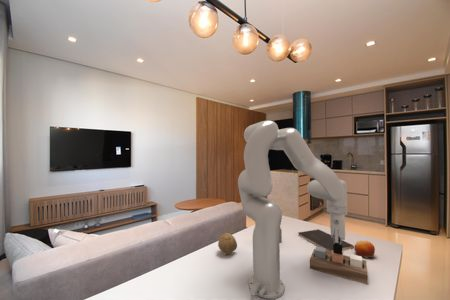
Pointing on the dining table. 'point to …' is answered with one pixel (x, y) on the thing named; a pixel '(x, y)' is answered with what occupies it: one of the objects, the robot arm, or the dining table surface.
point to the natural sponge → (227, 243)
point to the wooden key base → (340, 267)
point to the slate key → (320, 252)
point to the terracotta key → (337, 257)
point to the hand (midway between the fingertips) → (337, 253)
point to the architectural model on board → (280, 236)
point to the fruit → (364, 249)
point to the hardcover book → (322, 240)
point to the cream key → (356, 261)
